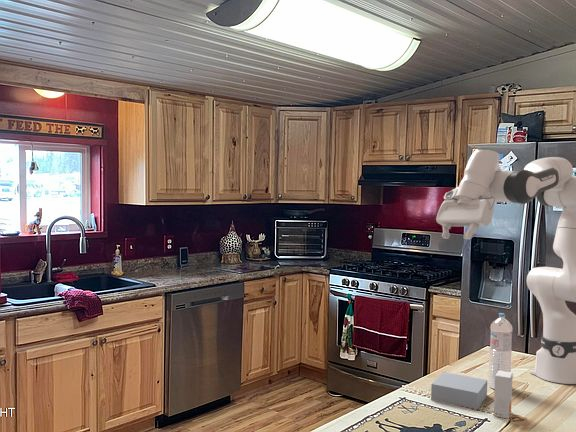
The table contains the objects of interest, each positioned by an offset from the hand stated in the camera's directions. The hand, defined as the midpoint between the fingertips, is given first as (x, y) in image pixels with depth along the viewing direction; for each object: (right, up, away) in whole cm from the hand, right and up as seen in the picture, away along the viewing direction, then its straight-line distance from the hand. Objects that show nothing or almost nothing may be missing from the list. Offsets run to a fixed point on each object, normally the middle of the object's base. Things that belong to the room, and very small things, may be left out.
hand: (455, 238), depth 162 cm
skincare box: (+13, -52, -3) cm, 53 cm away
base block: (+4, -51, +10) cm, 52 cm away
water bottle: (+21, -51, +20) cm, 59 cm away
